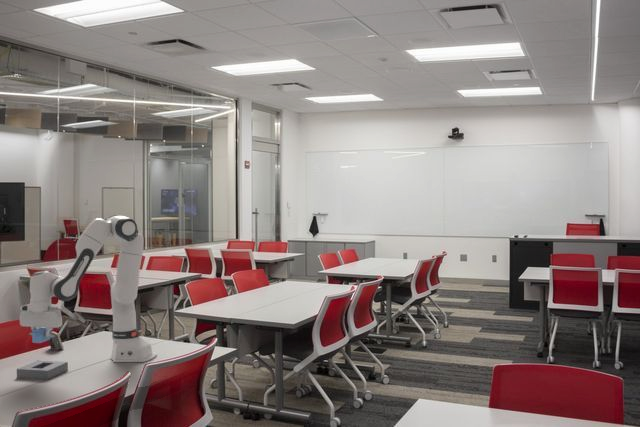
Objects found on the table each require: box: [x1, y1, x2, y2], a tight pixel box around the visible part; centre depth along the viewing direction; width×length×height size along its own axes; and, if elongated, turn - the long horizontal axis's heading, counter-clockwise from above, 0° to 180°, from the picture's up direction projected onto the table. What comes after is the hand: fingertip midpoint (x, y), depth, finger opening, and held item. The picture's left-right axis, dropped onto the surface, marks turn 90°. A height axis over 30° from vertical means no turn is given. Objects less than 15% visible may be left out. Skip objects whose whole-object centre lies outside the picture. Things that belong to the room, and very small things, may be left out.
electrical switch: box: [47, 330, 64, 351], centre depth 313 cm, size 9×5×9 cm, turn 44°
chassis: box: [16, 359, 69, 381], centre depth 269 cm, size 16×14×4 cm
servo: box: [28, 327, 54, 344], centre depth 269 cm, size 4×11×7 cm, turn 167°
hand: (41, 336), depth 269 cm, fingers closed on servo, 4 cm apart
